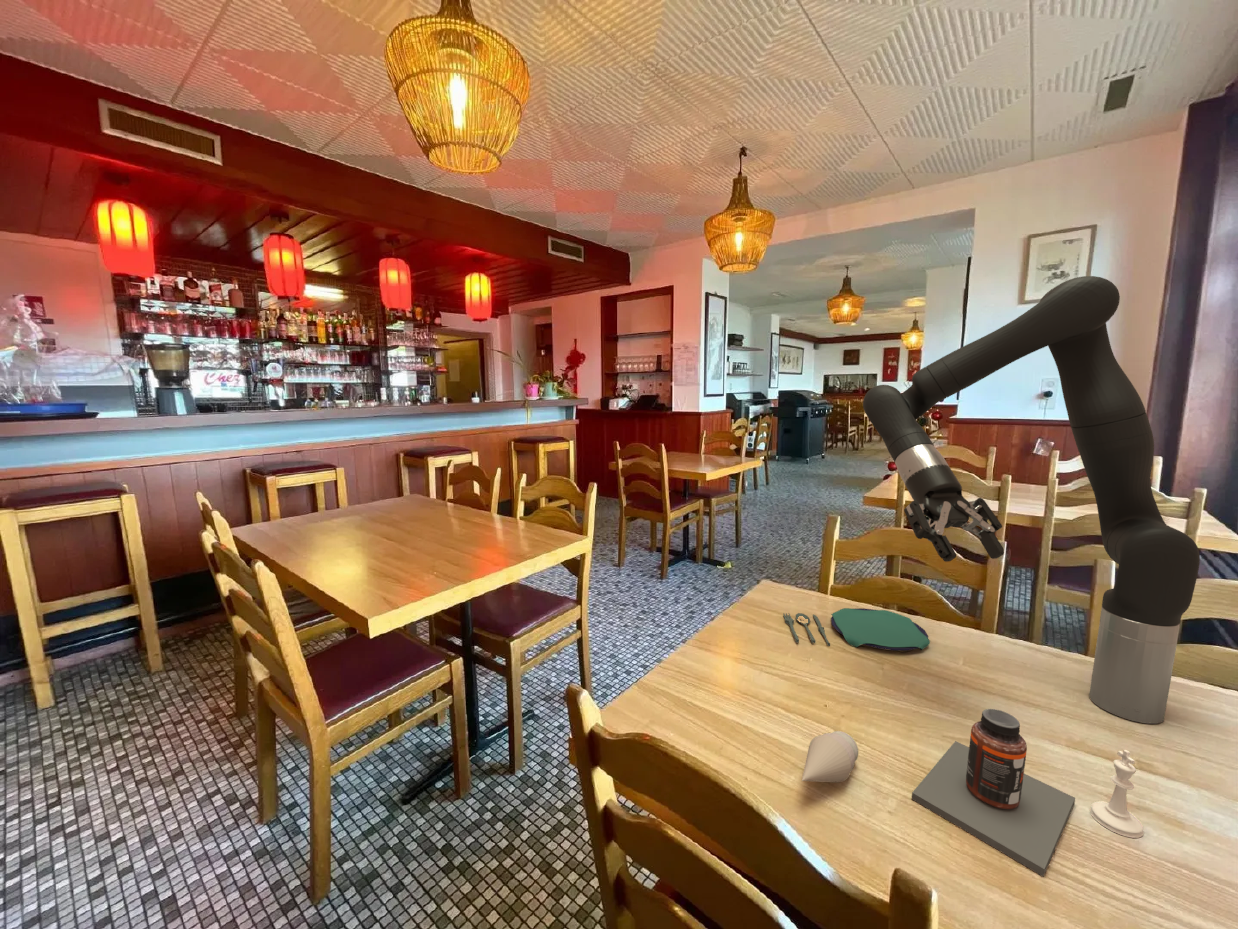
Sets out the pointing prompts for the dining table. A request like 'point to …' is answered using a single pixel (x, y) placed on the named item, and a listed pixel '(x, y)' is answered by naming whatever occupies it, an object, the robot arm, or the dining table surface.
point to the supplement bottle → (996, 759)
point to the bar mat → (998, 811)
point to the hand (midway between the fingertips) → (974, 558)
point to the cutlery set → (871, 629)
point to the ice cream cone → (830, 757)
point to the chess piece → (1119, 801)
